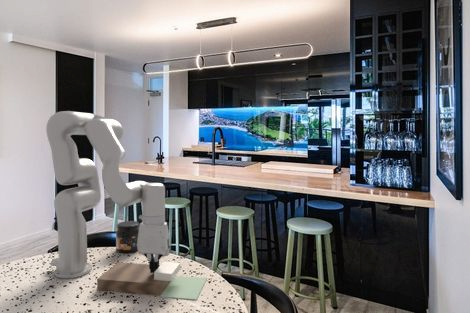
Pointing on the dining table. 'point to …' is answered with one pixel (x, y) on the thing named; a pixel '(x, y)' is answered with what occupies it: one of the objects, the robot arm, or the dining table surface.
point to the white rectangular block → (167, 271)
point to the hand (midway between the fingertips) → (154, 271)
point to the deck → (131, 280)
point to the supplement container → (127, 236)
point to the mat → (184, 288)
